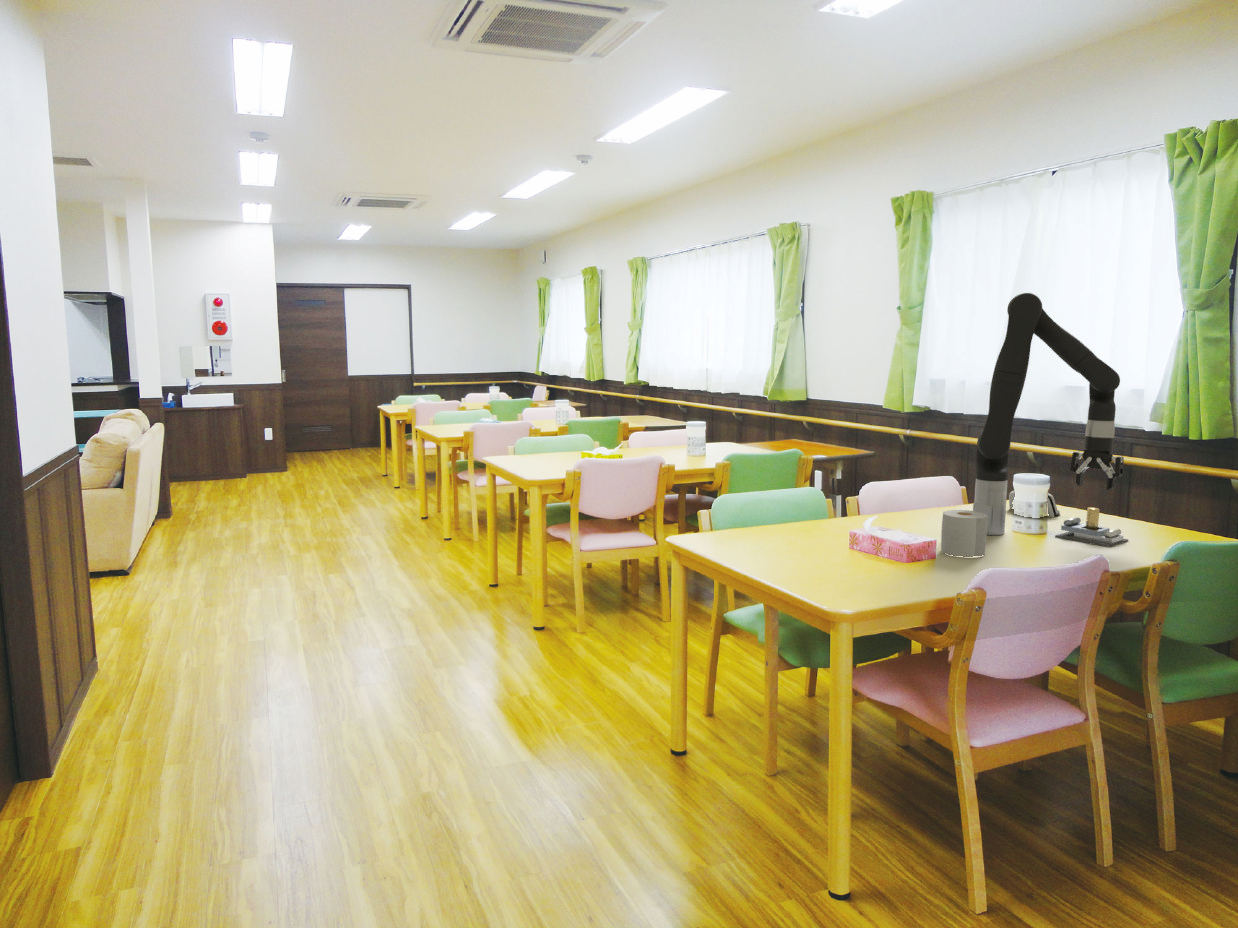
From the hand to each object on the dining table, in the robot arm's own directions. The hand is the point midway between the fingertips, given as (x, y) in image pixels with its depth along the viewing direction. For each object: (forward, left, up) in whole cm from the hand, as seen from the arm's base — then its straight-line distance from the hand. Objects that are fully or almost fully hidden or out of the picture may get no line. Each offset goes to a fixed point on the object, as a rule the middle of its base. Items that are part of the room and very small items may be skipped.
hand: (1094, 487), depth 249 cm
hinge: (+24, +31, -16) cm, 43 cm away
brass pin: (0, 0, -15) cm, 15 cm away
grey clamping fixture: (0, 0, -16) cm, 16 cm away
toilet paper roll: (-46, +14, -16) cm, 51 cm away
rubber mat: (0, 0, -16) cm, 16 cm away
